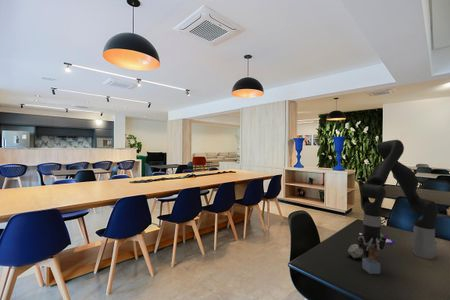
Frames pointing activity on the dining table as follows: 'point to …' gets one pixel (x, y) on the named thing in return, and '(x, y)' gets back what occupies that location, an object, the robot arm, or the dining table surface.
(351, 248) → the game die
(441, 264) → the dining table surface
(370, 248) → the walnut block
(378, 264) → the blue block
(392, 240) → the building block set
